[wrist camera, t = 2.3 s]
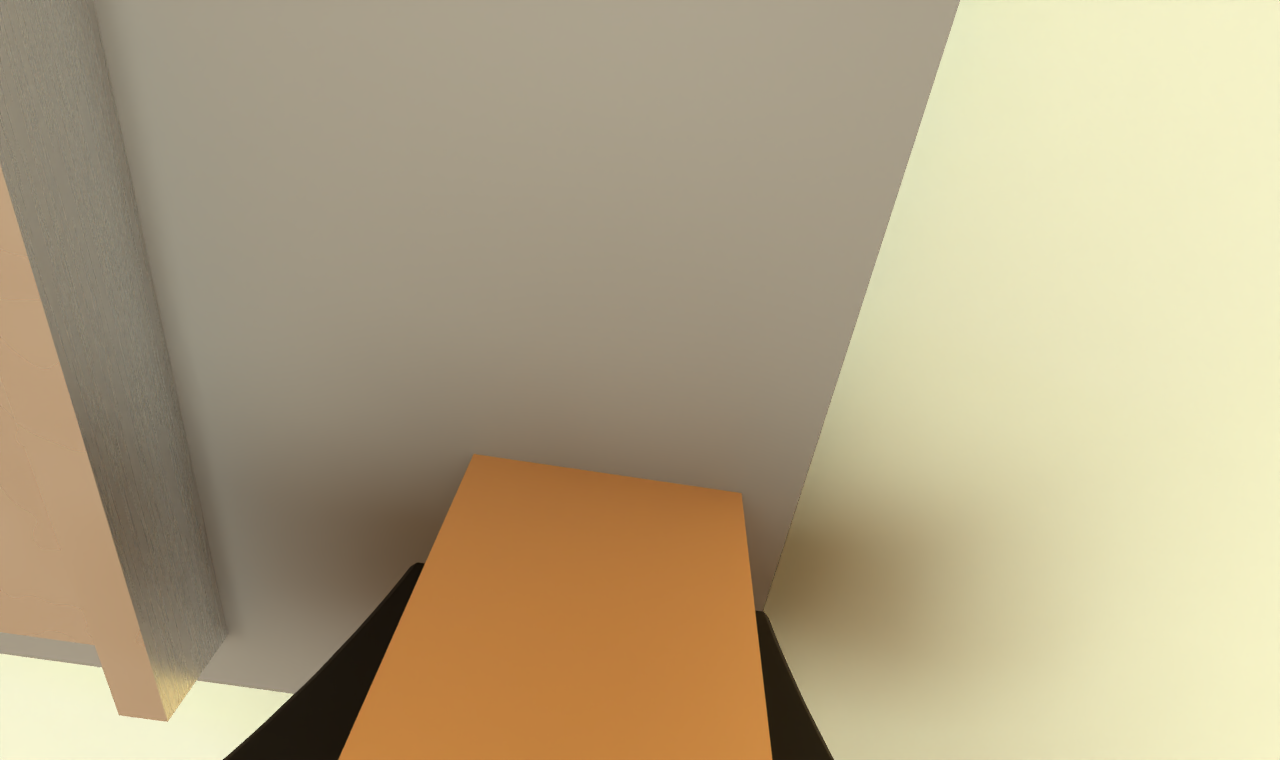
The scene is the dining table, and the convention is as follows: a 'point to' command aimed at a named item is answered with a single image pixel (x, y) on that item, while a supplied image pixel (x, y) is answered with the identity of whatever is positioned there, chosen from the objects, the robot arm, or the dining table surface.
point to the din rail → (90, 384)
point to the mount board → (495, 263)
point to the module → (574, 627)
